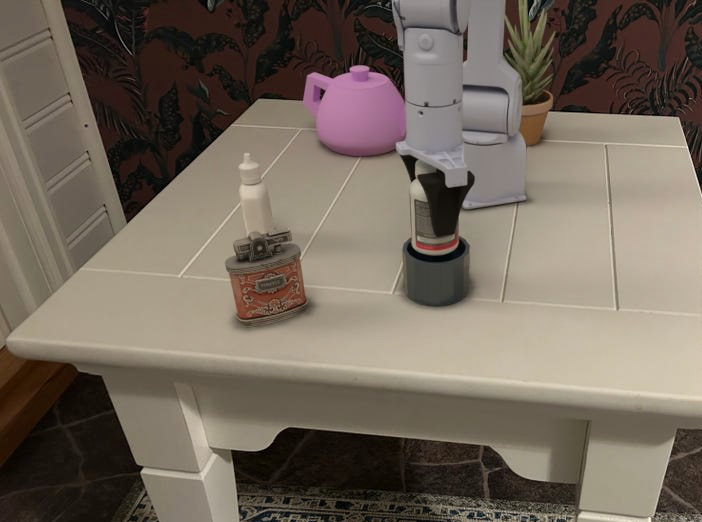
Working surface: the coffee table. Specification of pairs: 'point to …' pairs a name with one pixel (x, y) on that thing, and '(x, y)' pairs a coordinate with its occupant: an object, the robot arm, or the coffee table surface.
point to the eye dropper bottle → (254, 198)
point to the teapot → (356, 112)
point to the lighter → (266, 278)
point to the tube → (436, 275)
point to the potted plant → (531, 74)
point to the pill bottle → (427, 219)
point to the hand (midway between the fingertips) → (435, 222)
